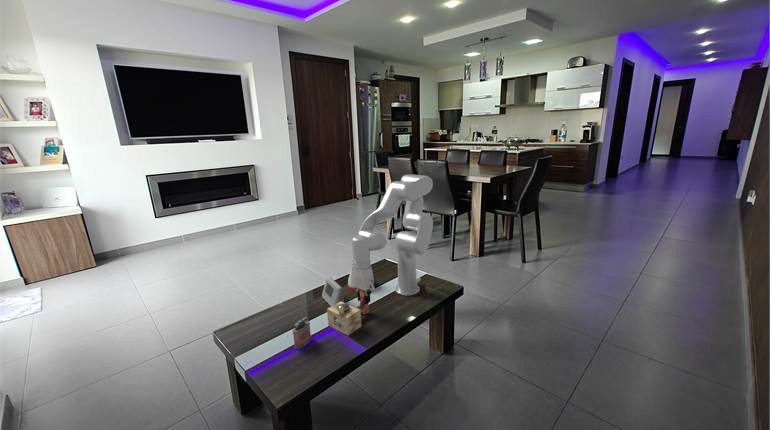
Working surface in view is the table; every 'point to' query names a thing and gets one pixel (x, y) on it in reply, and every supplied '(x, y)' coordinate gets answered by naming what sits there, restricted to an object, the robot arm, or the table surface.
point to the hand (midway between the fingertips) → (364, 300)
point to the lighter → (301, 333)
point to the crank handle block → (342, 309)
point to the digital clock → (332, 292)
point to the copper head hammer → (363, 307)
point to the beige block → (344, 319)
